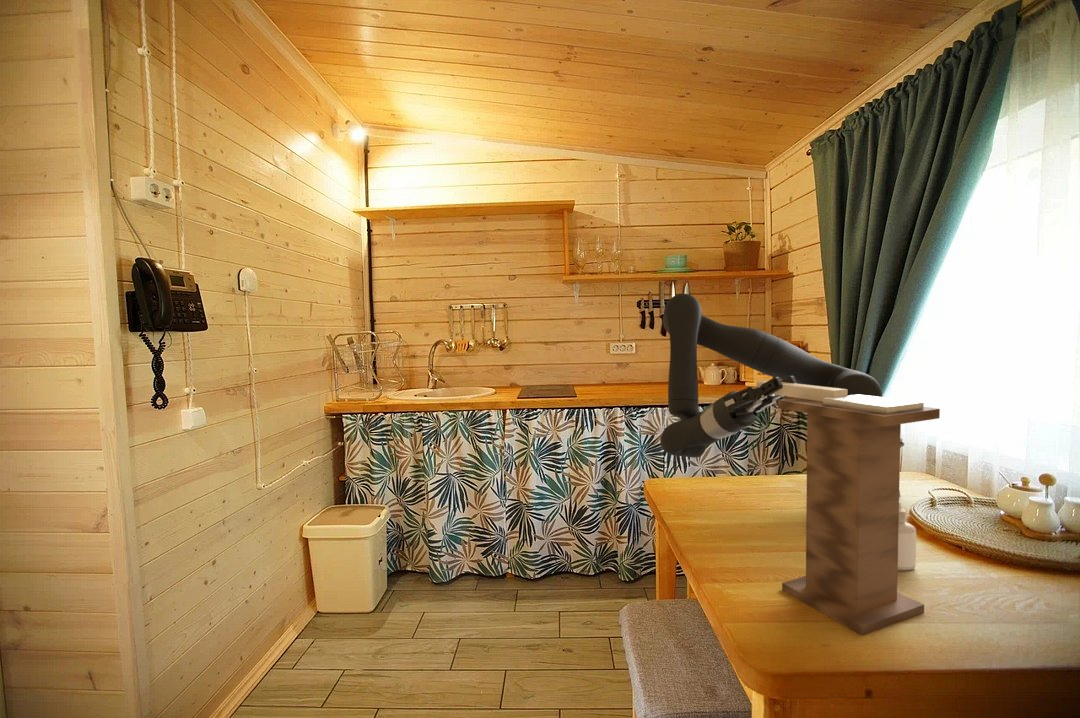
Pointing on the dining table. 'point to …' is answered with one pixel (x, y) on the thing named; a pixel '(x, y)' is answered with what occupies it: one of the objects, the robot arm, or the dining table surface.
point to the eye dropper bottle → (906, 543)
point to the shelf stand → (853, 514)
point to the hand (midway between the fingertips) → (786, 381)
